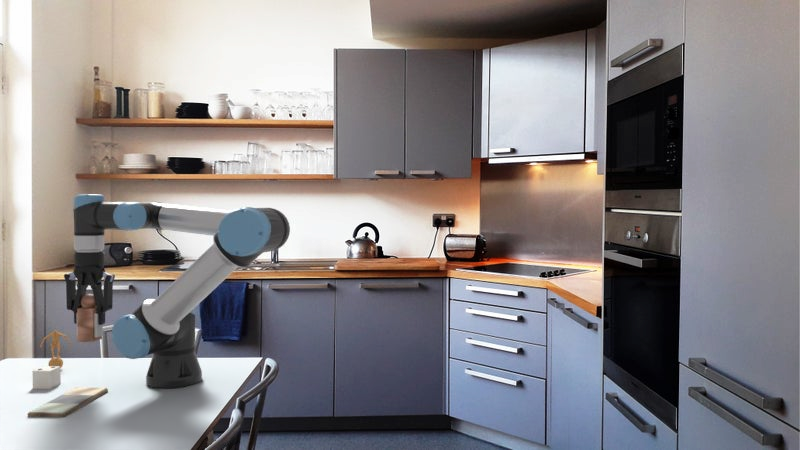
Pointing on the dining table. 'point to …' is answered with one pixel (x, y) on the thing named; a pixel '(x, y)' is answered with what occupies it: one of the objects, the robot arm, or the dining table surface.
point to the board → (68, 402)
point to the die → (46, 377)
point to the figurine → (55, 336)
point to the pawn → (86, 320)
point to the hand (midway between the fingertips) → (89, 335)
